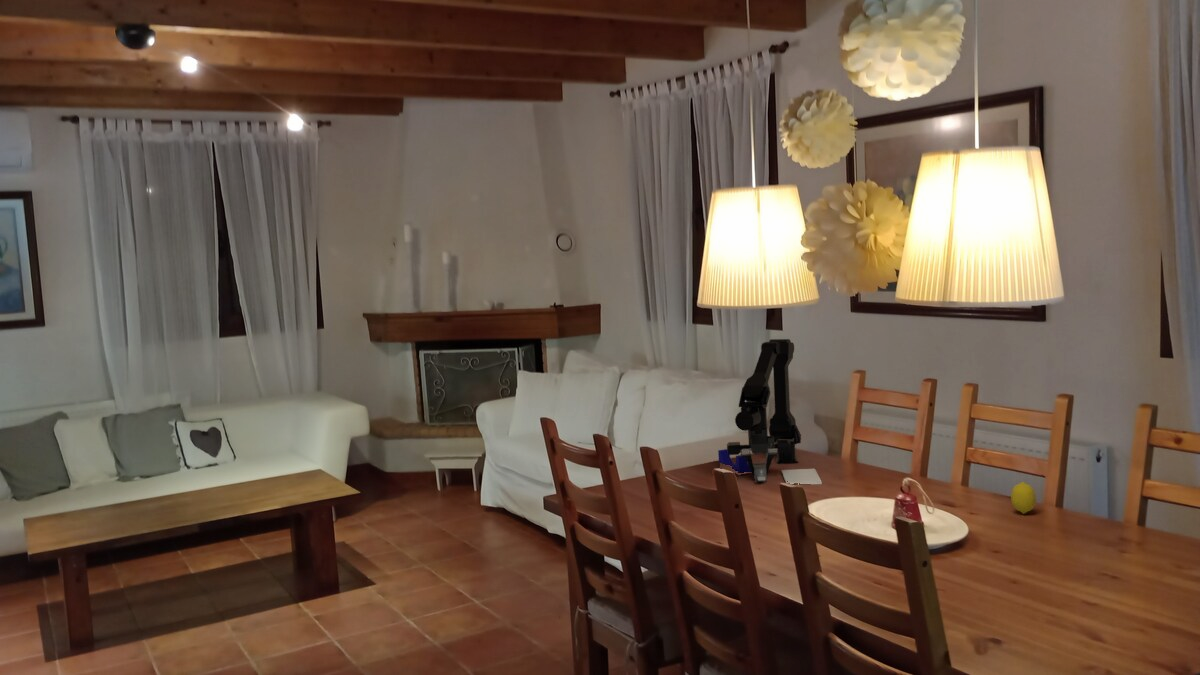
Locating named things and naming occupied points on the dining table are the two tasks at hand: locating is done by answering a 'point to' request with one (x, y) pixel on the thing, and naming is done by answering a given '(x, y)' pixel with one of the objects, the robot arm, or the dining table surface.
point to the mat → (801, 476)
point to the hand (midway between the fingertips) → (759, 475)
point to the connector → (760, 472)
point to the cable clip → (740, 462)
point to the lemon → (1023, 497)
